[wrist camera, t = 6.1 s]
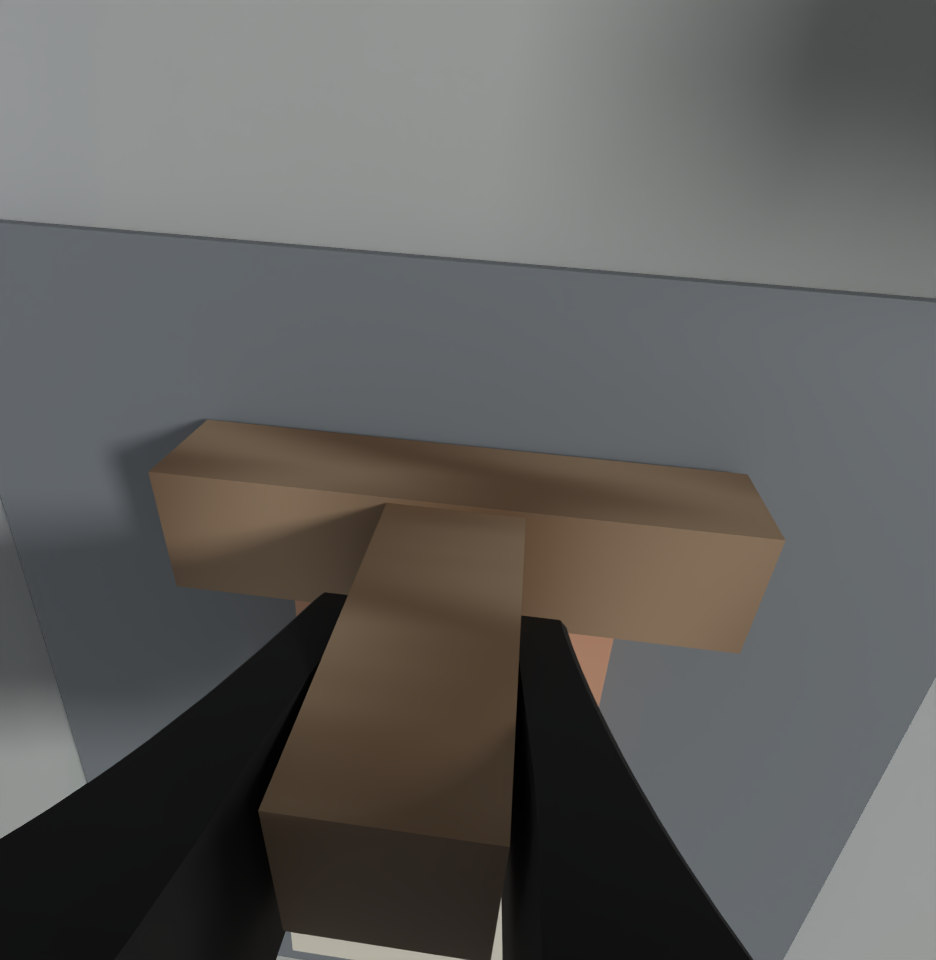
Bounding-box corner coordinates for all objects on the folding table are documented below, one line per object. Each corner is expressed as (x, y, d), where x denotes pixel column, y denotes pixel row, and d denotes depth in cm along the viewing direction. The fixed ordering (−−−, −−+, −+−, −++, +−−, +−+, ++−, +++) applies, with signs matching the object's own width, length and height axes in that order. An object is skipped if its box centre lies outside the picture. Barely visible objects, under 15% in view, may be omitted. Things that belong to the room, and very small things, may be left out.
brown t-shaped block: (226, 523, 13) (-60, 882, 7) (207, 419, 11) (-161, 745, 5) (712, 578, 12) (877, 1028, 6) (747, 474, 11) (998, 909, 5)
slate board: (141, 916, 21) (132, 933, 20) (-60, 214, 11) (-86, 215, 11) (739, 1010, 19) (745, 1031, 19) (1102, 312, 10) (1130, 318, 9)
